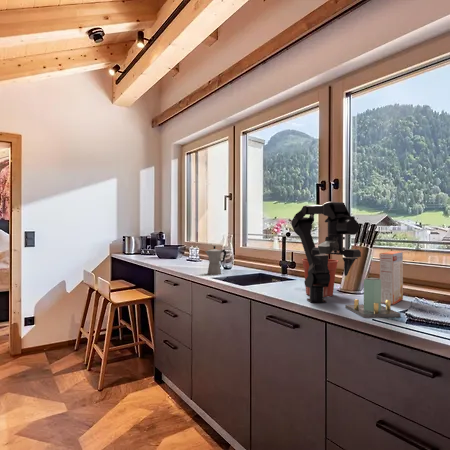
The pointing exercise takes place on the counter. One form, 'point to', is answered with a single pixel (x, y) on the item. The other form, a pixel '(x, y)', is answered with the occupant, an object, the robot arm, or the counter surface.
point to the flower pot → (332, 268)
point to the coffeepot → (215, 260)
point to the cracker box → (391, 276)
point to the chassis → (376, 313)
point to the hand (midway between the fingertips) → (335, 274)
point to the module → (372, 293)
